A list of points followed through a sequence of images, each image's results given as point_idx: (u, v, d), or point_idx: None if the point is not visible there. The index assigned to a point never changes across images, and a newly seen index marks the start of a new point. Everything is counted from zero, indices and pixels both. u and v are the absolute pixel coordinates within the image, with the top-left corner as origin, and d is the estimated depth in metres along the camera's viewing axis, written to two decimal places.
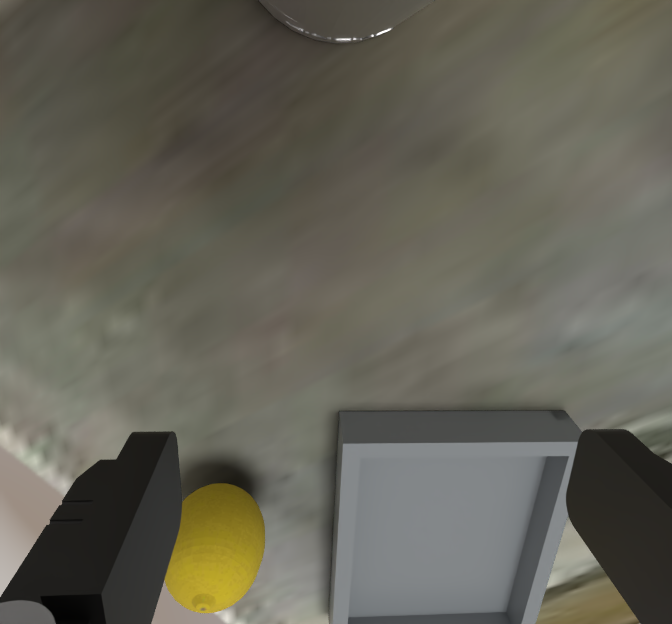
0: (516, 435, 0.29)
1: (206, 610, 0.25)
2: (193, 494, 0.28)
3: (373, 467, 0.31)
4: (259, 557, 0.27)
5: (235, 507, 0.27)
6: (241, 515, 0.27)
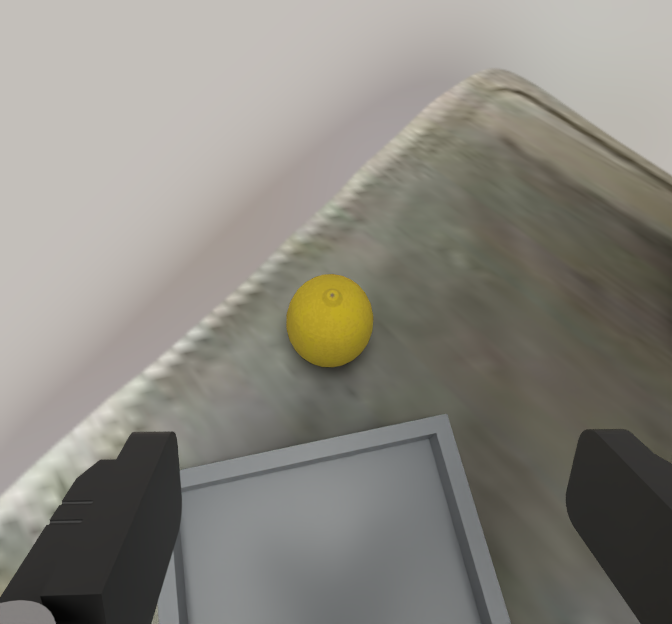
0: None
1: (330, 298, 0.28)
2: None
3: (398, 464, 0.32)
4: (343, 351, 0.30)
5: None
6: (369, 336, 0.32)
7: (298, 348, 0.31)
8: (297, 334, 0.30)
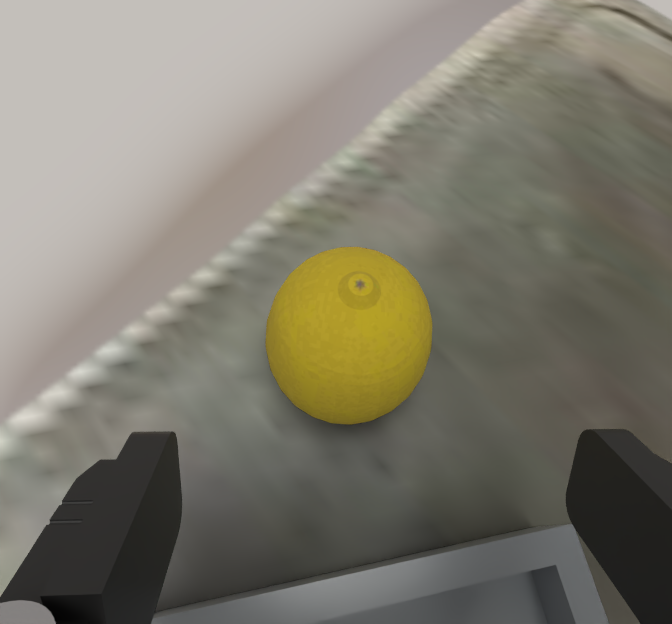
0: None
1: (356, 290, 0.13)
2: None
3: (473, 617, 0.16)
4: (377, 400, 0.15)
5: None
6: None
7: (287, 389, 0.16)
8: (284, 363, 0.15)
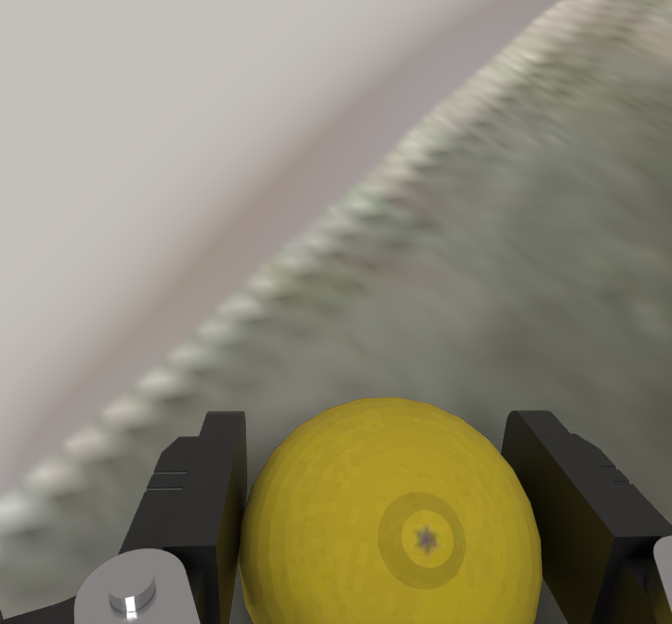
0: None
1: (419, 554, 0.06)
2: None
3: None
4: None
5: None
6: None
7: None
8: None
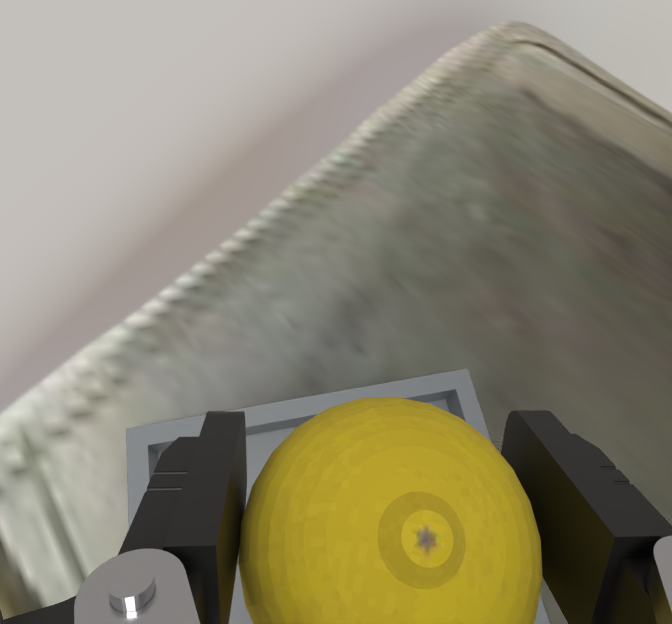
0: None
1: (418, 554, 0.06)
2: None
3: None
4: None
5: None
6: None
7: None
8: None
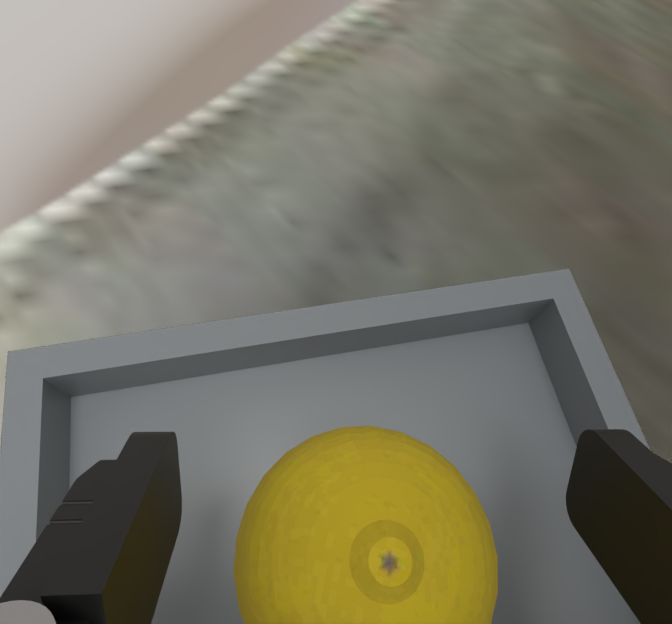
0: None
1: (382, 575, 0.08)
2: None
3: (477, 362, 0.18)
4: None
5: None
6: None
7: None
8: None
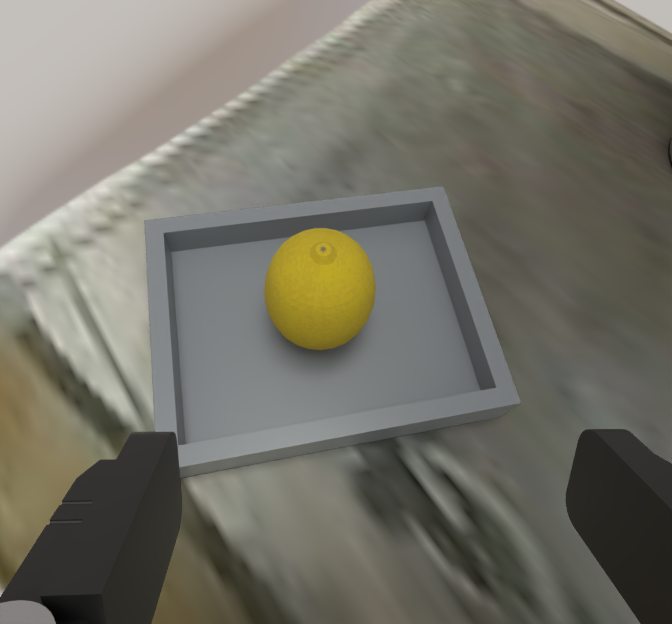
0: None
1: (320, 252, 0.22)
2: None
3: (393, 239, 0.32)
4: (336, 326, 0.23)
5: (372, 307, 0.25)
6: (370, 311, 0.25)
7: (278, 322, 0.24)
8: (276, 302, 0.23)
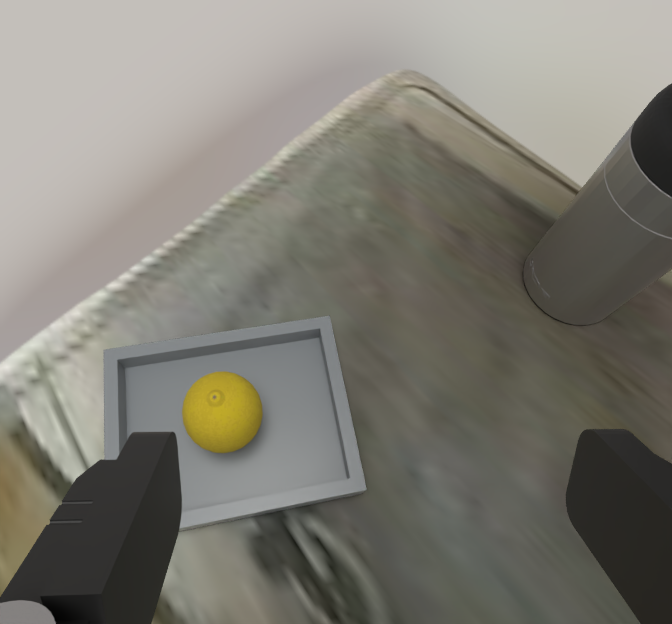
0: None
1: (212, 399, 0.32)
2: None
3: (293, 354, 0.42)
4: (228, 444, 0.34)
5: (260, 423, 0.36)
6: (257, 427, 0.35)
7: (190, 437, 0.35)
8: (186, 427, 0.34)
